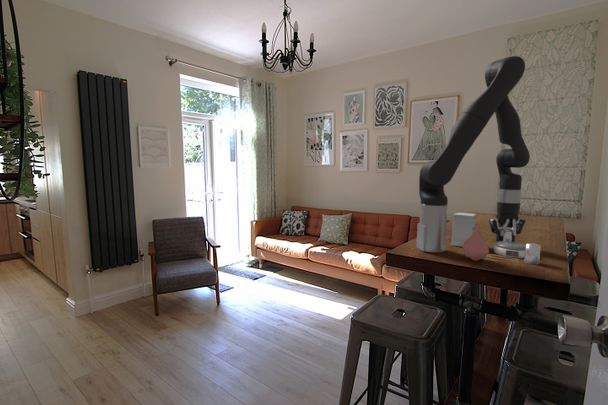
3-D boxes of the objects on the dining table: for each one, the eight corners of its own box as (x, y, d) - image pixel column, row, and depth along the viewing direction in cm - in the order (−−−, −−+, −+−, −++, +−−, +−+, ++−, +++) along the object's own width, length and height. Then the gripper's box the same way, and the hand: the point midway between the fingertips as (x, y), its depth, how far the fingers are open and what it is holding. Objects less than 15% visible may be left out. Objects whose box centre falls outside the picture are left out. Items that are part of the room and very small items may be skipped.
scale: (507, 258, 108) (508, 248, 107) (487, 249, 119) (488, 241, 118) (539, 257, 108) (540, 248, 108) (516, 249, 119) (516, 241, 119)
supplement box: (471, 248, 121) (473, 215, 119) (450, 245, 125) (452, 214, 124) (474, 244, 126) (476, 213, 125) (454, 241, 131) (456, 212, 130)
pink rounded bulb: (458, 256, 110) (460, 222, 108) (481, 256, 109) (483, 222, 108) (467, 262, 102) (470, 226, 101) (492, 263, 101) (495, 227, 100)
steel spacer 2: (530, 264, 101) (531, 246, 100) (521, 260, 105) (522, 243, 104) (542, 264, 101) (544, 246, 100) (532, 260, 105) (534, 243, 104)
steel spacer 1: (503, 247, 120) (505, 231, 120) (496, 244, 124) (497, 229, 124) (513, 246, 121) (514, 231, 120) (505, 244, 125) (507, 229, 124)
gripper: (498, 202, 116) (494, 247, 118) (533, 202, 118) (529, 246, 120) (485, 200, 124) (481, 242, 126) (518, 200, 125) (514, 242, 127)
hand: (505, 244), depth 123 cm, fingers closed on steel spacer 1, 4 cm apart
